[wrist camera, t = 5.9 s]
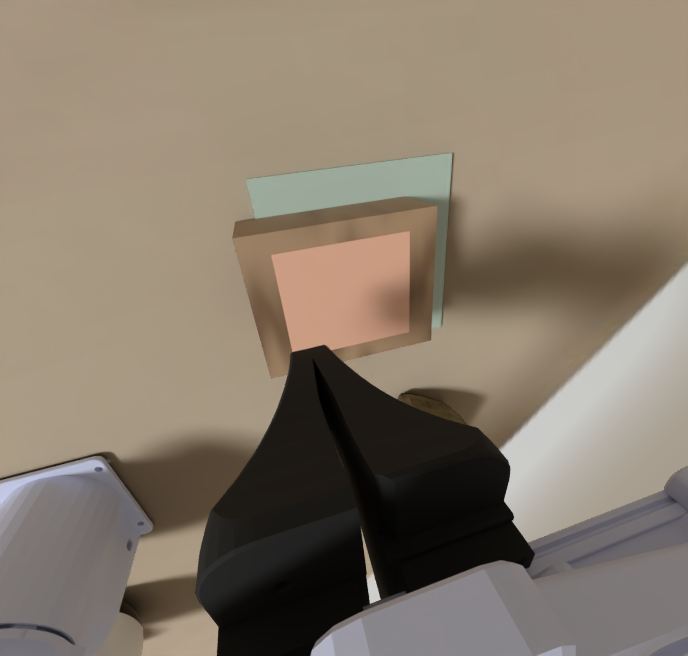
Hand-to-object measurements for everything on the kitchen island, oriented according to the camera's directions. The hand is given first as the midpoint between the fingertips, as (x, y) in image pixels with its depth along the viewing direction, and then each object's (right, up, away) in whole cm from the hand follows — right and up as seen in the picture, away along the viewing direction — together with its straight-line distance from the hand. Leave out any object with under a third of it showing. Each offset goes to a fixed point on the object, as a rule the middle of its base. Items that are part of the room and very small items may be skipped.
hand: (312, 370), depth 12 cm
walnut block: (-4, +3, +6) cm, 8 cm away
